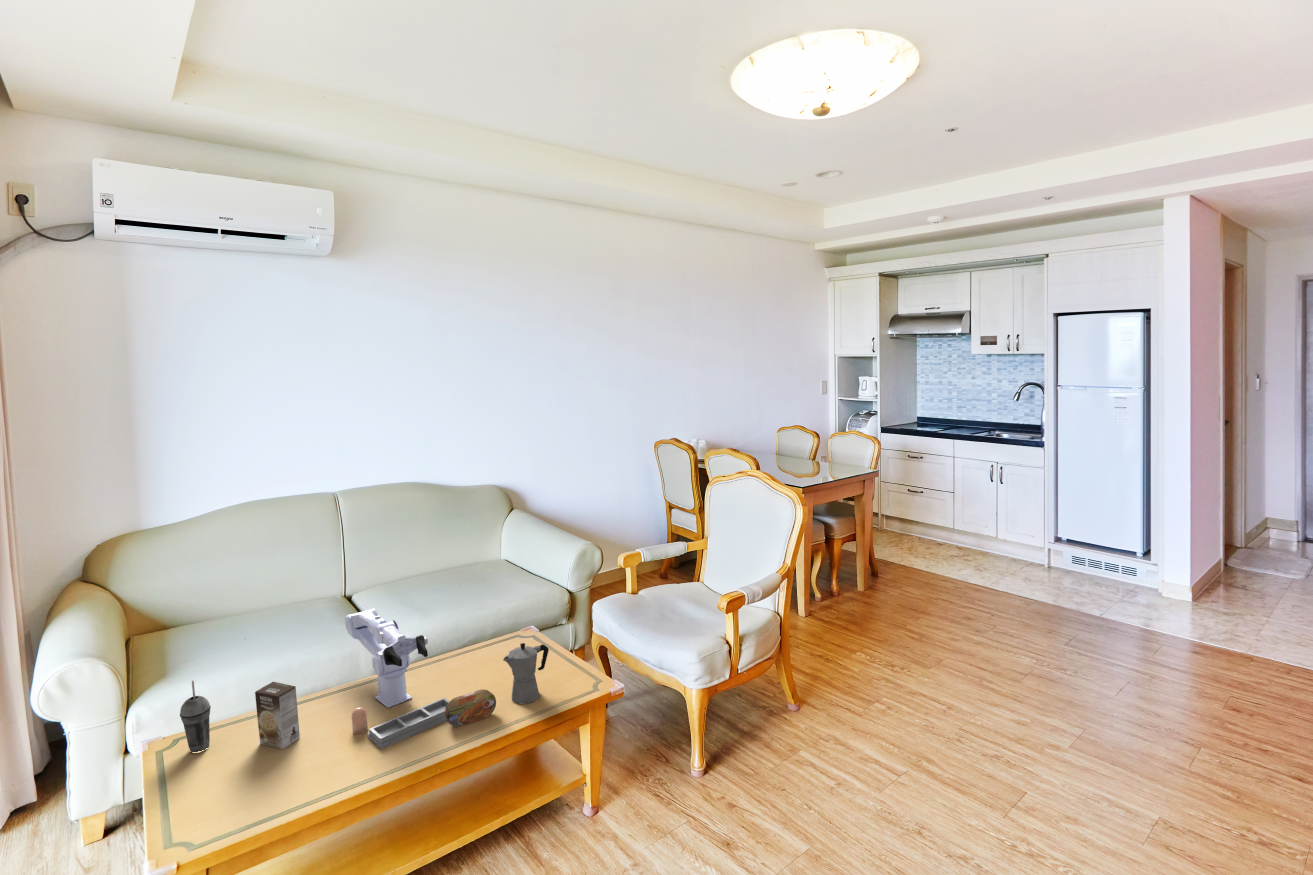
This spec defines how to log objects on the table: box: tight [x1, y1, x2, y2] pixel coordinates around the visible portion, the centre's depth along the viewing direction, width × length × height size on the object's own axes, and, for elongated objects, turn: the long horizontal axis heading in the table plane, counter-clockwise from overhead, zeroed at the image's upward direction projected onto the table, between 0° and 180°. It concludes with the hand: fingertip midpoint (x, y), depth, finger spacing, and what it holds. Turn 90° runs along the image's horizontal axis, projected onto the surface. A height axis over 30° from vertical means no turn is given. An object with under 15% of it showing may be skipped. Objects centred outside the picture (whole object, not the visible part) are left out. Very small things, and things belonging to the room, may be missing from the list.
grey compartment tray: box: [367, 697, 451, 750], centre depth 198 cm, size 9×24×3 cm, turn 136°
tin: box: [445, 688, 497, 728], centre depth 200 cm, size 15×3×8 cm, turn 123°
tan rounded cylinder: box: [351, 706, 369, 735], centre depth 196 cm, size 4×4×7 cm
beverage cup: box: [179, 680, 212, 752], centre depth 188 cm, size 7×7×20 cm
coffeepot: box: [503, 642, 550, 705], centre depth 213 cm, size 15×9×18 cm, turn 125°
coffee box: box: [254, 681, 301, 750], centre depth 191 cm, size 9×6×16 cm
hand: (413, 658), depth 197 cm, fingers open, 7 cm apart
